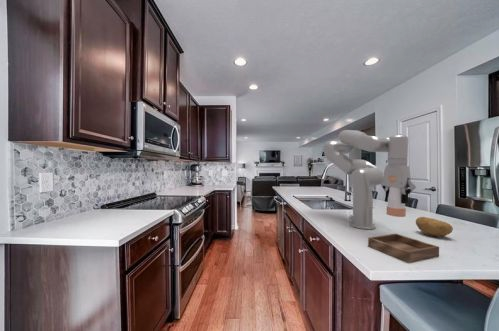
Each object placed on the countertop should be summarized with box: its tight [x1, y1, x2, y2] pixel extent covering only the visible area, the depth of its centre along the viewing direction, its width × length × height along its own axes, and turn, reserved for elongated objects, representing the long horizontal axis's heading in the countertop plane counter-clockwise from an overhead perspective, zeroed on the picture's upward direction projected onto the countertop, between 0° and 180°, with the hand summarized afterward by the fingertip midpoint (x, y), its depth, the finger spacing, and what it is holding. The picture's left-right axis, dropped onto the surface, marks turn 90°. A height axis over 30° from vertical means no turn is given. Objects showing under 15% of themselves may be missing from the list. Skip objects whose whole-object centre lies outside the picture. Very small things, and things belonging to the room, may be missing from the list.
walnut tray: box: [367, 233, 440, 264], centre depth 83 cm, size 16×16×4 cm
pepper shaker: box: [385, 176, 407, 218], centre depth 98 cm, size 7×7×19 cm
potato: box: [415, 216, 454, 238], centre depth 102 cm, size 10×14×8 cm
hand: (396, 201), depth 98 cm, fingers closed on pepper shaker, 6 cm apart
